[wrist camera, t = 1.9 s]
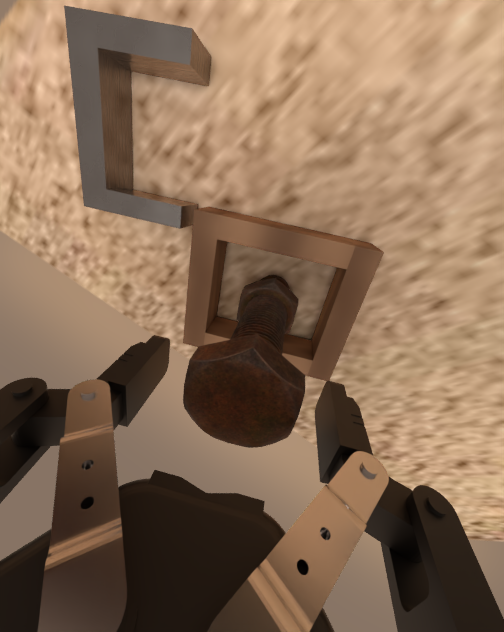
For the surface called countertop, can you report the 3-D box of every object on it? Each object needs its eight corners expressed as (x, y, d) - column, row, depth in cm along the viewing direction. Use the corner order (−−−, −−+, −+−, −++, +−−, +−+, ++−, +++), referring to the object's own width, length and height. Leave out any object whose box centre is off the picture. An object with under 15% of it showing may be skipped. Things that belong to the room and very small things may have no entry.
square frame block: (371, 243, 21) (383, 252, 18) (325, 359, 27) (328, 381, 24) (209, 206, 22) (194, 209, 19) (196, 325, 28) (183, 342, 25)
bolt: (314, 292, 24) (330, 419, 11) (276, 326, 26) (250, 466, 13) (268, 249, 23) (222, 328, 10) (233, 287, 25) (156, 395, 12)
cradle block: (211, 56, 18) (192, 28, 15) (196, 223, 23) (180, 228, 20) (104, 37, 18) (64, 5, 15) (112, 204, 24) (84, 206, 20)
